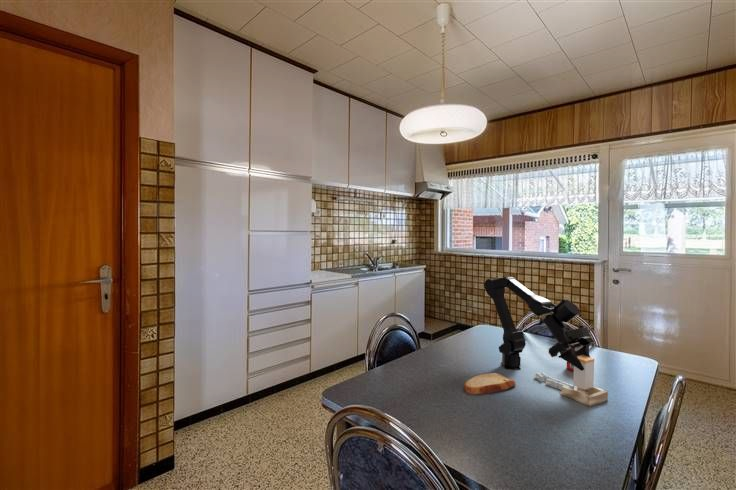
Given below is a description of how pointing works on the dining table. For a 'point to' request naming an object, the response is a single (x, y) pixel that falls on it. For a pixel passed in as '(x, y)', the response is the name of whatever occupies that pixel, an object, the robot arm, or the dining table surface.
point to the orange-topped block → (584, 373)
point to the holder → (585, 395)
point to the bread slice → (488, 383)
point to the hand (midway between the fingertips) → (587, 368)
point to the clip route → (552, 381)
